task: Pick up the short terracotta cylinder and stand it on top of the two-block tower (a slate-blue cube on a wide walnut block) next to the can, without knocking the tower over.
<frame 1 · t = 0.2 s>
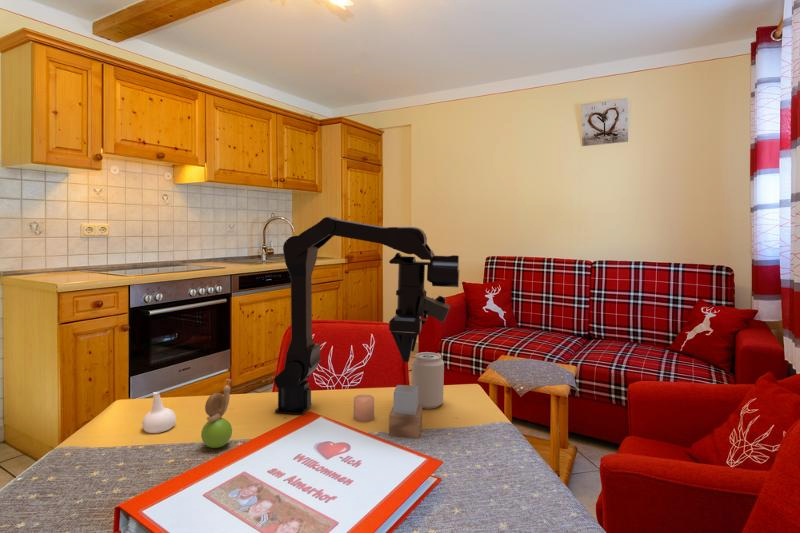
hand: (408, 356, 102), 14 cm above the table, tool pointing down, fingers open, 9 cm apart
garlic bulb: (159, 429, 96), on the table
can: (427, 404, 112), on the table
walnut base block: (405, 431, 96), on the table
slate cube: (405, 410, 96), point 4 cm above the table
terracotta cylinder: (363, 418, 103), on the table
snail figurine: (218, 446, 89), on the table
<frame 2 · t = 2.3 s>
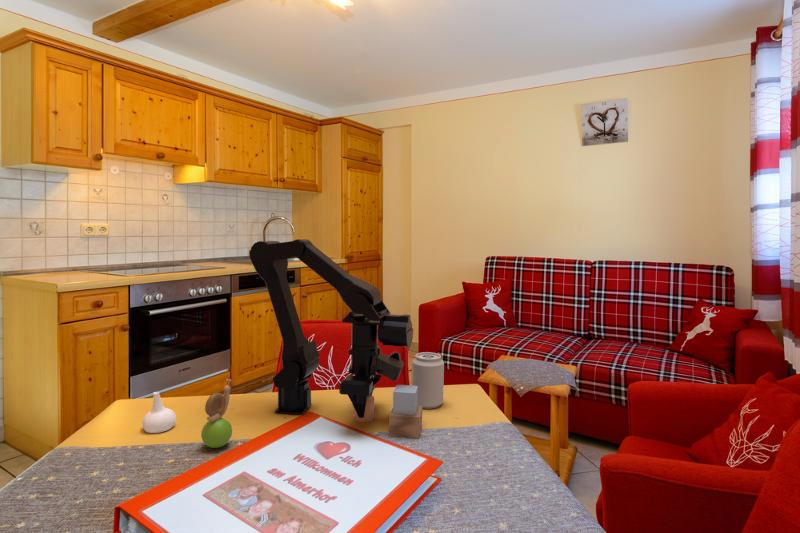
hand: (363, 413, 103), 1 cm above the table, tool pointing down, fingers closed on terracotta cylinder, 4 cm apart
walnut base block: (405, 431, 96), on the table, touching slate cube
slate cube: (405, 410, 96), point 4 cm above the table, touching walnut base block
terracotta cylinder: (363, 417, 103), on the table, touching gripper
everything else where it was.
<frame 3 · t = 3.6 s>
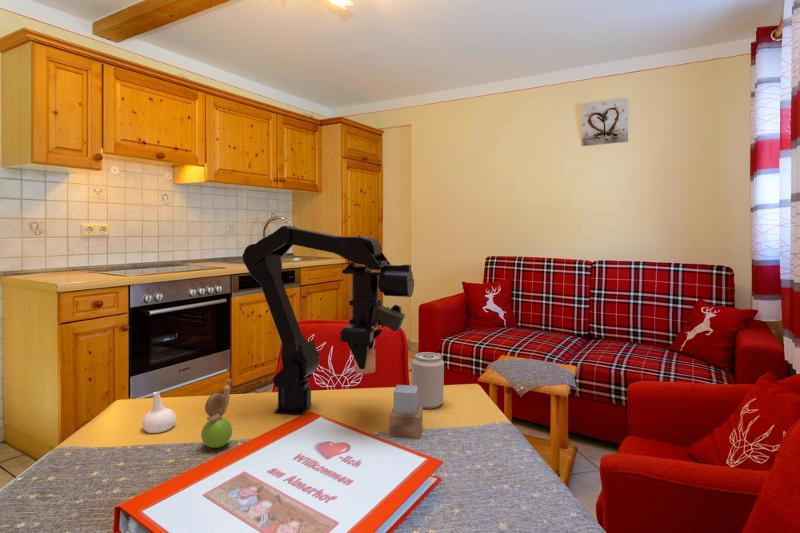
hand: (364, 365, 102), 12 cm above the table, tool pointing down, fingers closed on terracotta cylinder, 4 cm apart
terracotta cylinder: (364, 370, 102), point 11 cm above the table, touching gripper
everything else where it was.
when the fingers open (11 cm above the table, at t = 5.1 s): terracotta cylinder drops 1 cm, resting on slate cube.
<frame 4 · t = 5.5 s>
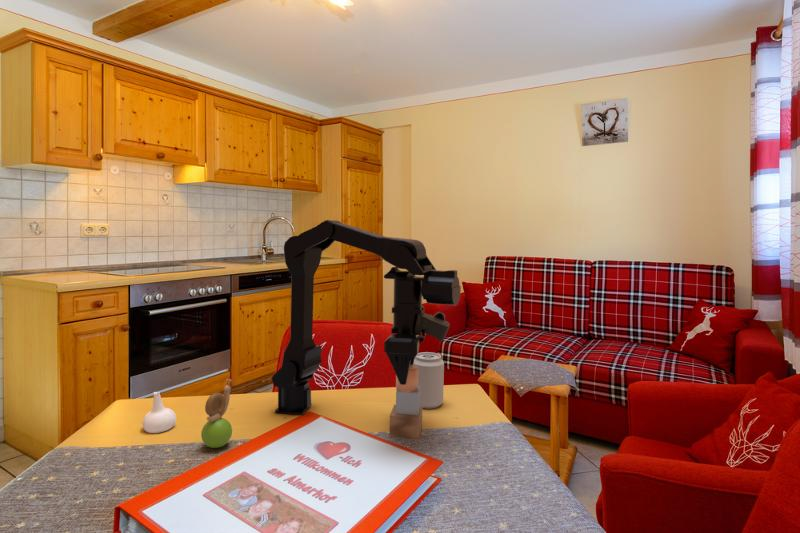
hand: (406, 377, 96), 11 cm above the table, tool pointing down, fingers open, 9 cm apart
slate cube: (407, 410, 96), point 4 cm above the table, touching terracotta cylinder, walnut base block
terracotta cylinder: (406, 389, 96), point 9 cm above the table, touching slate cube
everything else where it was.
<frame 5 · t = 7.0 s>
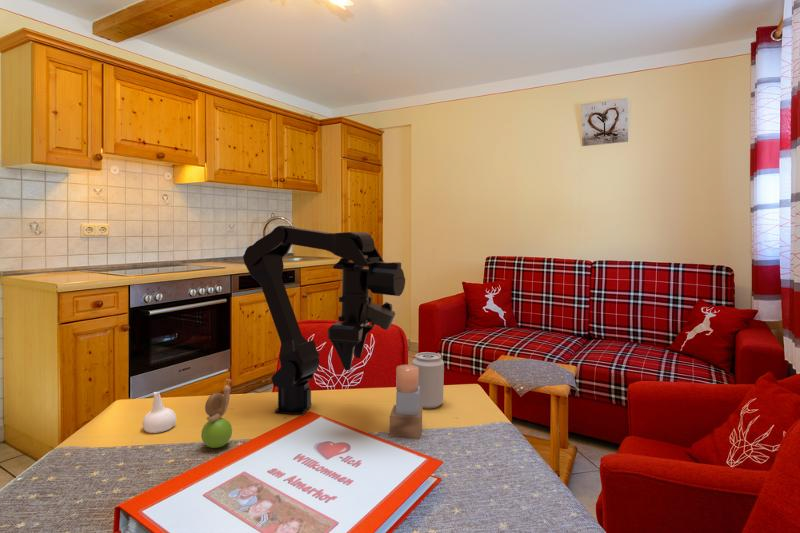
hand: (353, 363, 100), 13 cm above the table, tool pointing down, fingers open, 9 cm apart
nothing on the table moved.
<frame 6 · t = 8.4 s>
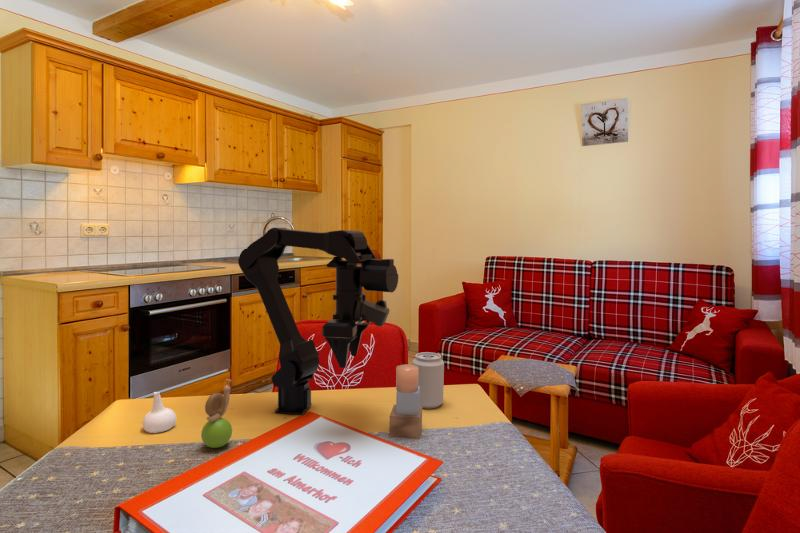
hand: (348, 361, 100), 13 cm above the table, tool pointing down, fingers open, 9 cm apart
nothing on the table moved.
at the end: terracotta cylinder 0.2 cm off-centre on the slate cube, point 4.5 cm above the slate cube's base; slate cube tilted 0°; walnut base block moved 0.3 cm from its start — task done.
